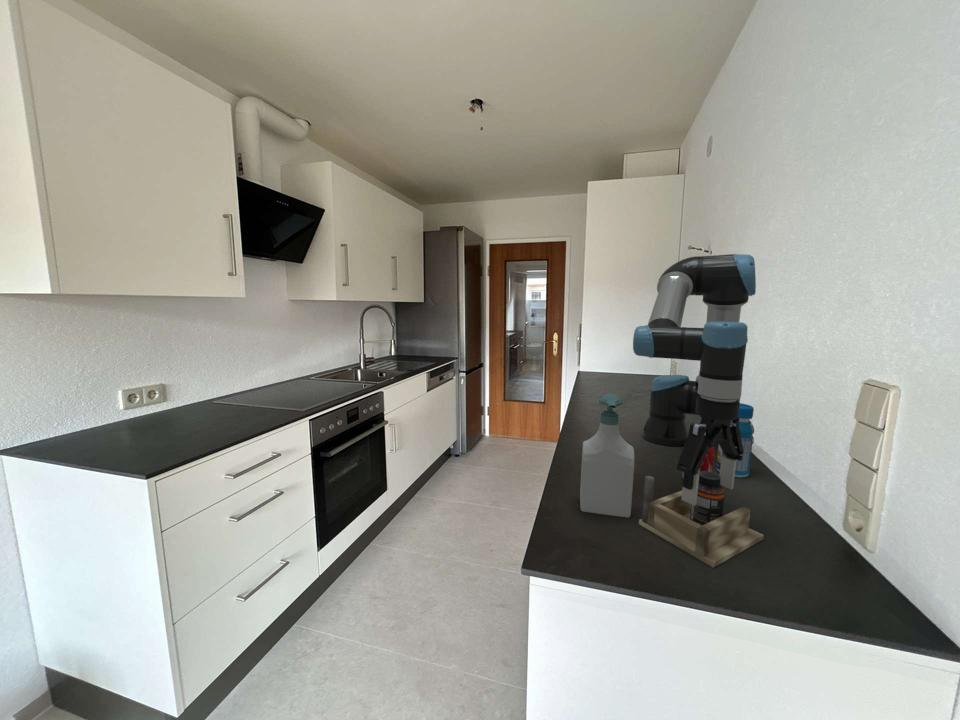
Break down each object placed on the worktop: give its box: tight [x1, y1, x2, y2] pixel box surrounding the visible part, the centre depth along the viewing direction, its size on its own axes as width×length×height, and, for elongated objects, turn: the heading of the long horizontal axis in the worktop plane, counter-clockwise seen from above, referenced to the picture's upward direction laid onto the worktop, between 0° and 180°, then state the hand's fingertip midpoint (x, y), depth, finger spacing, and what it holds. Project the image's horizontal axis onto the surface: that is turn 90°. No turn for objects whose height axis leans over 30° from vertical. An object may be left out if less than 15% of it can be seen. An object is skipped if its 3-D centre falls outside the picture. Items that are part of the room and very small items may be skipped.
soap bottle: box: [579, 393, 635, 518], centre depth 87 cm, size 11×8×27 cm
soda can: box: [681, 446, 715, 479], centre depth 103 cm, size 7×7×12 cm
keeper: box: [638, 475, 765, 569], centre depth 80 cm, size 18×16×11 cm
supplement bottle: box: [690, 471, 726, 525], centre depth 81 cm, size 6×6×11 cm
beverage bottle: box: [715, 402, 755, 478], centre depth 109 cm, size 8×8×20 cm
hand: (708, 494), depth 81 cm, fingers open, 13 cm apart
